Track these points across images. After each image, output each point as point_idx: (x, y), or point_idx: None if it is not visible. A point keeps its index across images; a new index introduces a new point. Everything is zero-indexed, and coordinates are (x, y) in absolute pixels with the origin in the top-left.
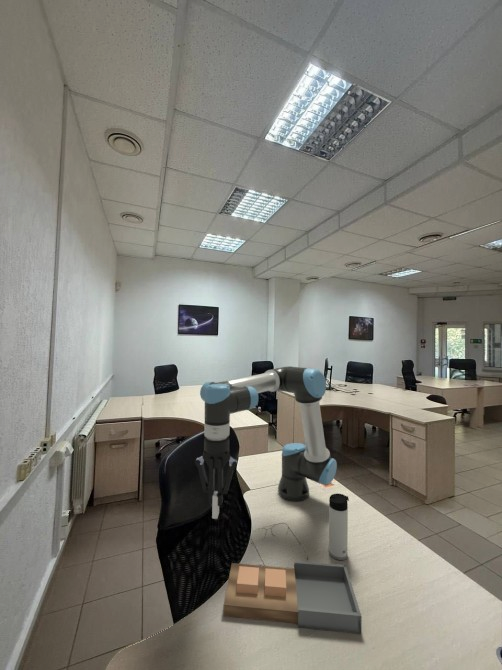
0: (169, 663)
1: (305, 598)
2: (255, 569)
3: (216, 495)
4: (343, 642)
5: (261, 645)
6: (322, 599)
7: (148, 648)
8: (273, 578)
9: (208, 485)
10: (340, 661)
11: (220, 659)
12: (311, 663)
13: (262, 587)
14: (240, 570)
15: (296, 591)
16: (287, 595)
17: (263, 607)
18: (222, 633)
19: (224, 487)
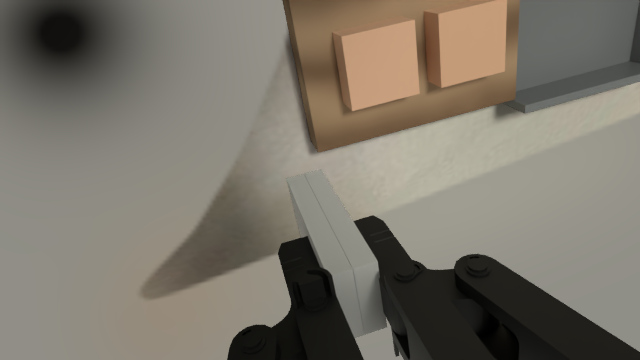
0: (237, 267)
1: (528, 21)
2: (403, 32)
3: (372, 319)
4: (584, 97)
5: (416, 167)
6: (572, 8)
7: (171, 266)
8: (466, 49)
9: (276, 352)
10: (567, 136)
11: None
12: (513, 160)
13: (418, 57)
14: (350, 55)
15: None
16: None
17: (428, 120)
18: None
19: (464, 305)
